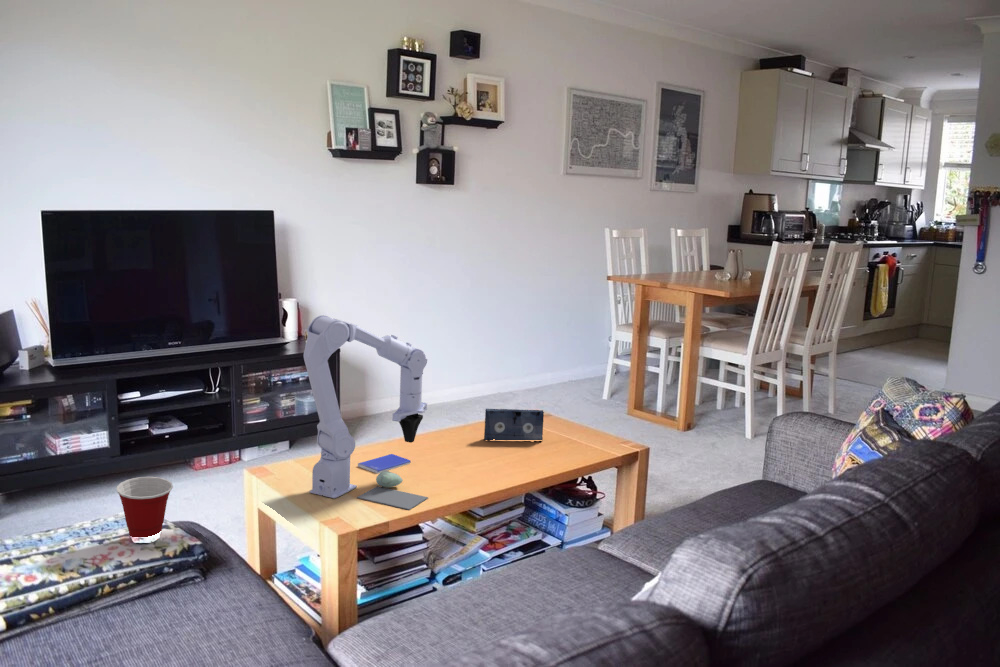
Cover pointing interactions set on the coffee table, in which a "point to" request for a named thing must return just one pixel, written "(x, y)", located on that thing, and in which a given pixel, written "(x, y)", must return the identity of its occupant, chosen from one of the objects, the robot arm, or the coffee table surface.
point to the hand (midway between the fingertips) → (409, 441)
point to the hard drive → (384, 463)
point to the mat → (393, 497)
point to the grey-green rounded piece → (388, 479)
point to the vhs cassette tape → (513, 424)
